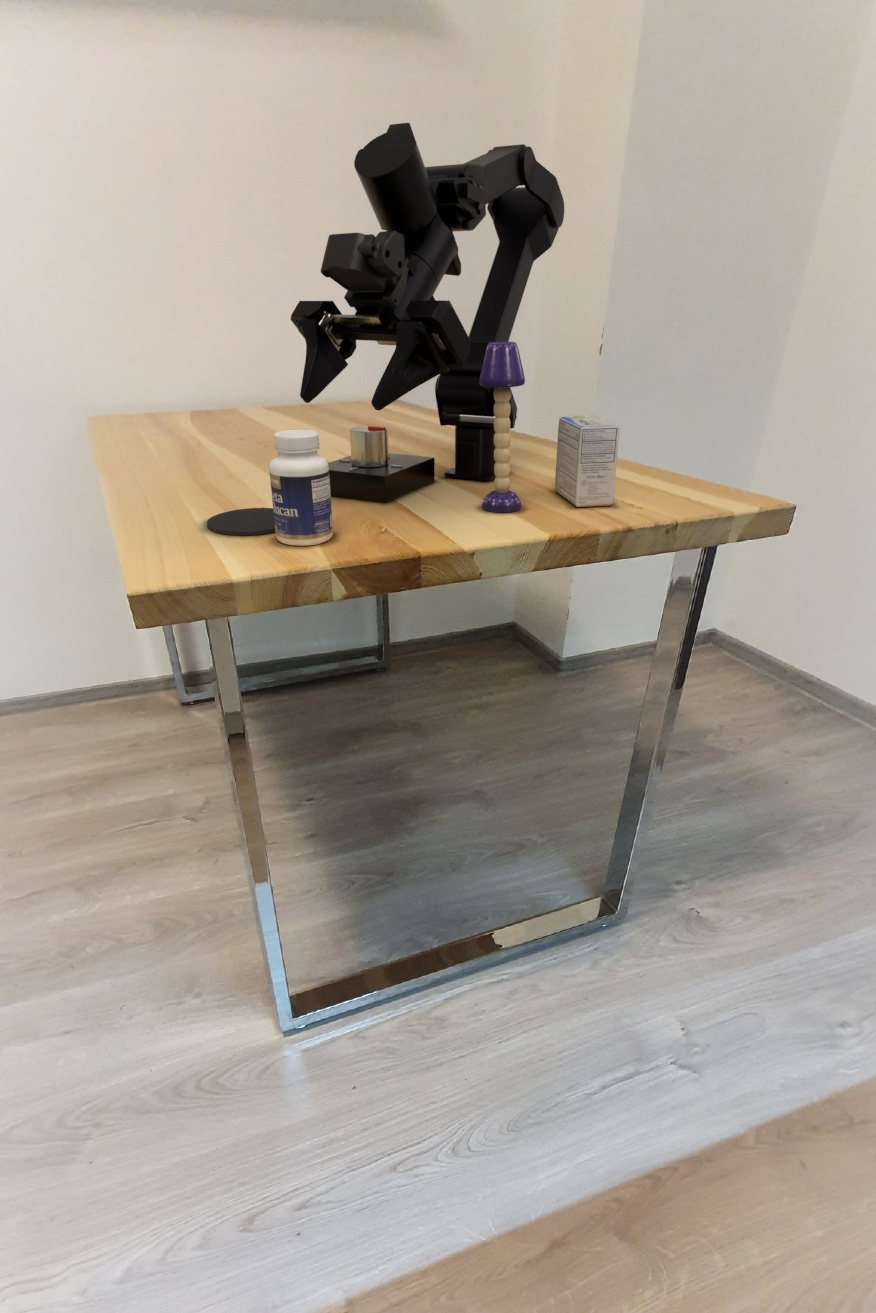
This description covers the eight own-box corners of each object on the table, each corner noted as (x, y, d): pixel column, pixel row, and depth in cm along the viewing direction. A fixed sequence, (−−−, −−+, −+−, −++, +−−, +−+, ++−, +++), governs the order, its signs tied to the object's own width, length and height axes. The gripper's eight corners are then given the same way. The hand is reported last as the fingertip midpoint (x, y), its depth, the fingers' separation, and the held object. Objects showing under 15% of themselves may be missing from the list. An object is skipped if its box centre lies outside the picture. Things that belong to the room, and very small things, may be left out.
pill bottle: (264, 542, 68) (252, 435, 64) (299, 527, 73) (290, 426, 68) (310, 550, 66) (301, 440, 62) (344, 535, 70) (338, 430, 66)
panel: (367, 474, 95) (365, 449, 94) (434, 481, 91) (434, 456, 89) (312, 493, 85) (310, 466, 84) (385, 503, 81) (384, 474, 80)
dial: (344, 465, 85) (342, 427, 83) (364, 458, 89) (362, 422, 87) (376, 468, 83) (375, 430, 81) (395, 462, 87) (394, 424, 85)
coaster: (247, 507, 80) (247, 504, 79) (315, 517, 76) (314, 514, 76) (187, 528, 72) (187, 524, 72) (258, 540, 69) (258, 536, 69)
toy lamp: (488, 515, 77) (493, 343, 69) (469, 505, 81) (472, 341, 73) (528, 510, 78) (537, 342, 71) (507, 500, 82) (514, 340, 75)
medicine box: (613, 506, 80) (622, 424, 76) (574, 508, 79) (581, 426, 75) (589, 490, 87) (596, 414, 83) (553, 491, 86) (558, 415, 82)
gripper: (296, 207, 70) (217, 336, 67) (453, 191, 59) (368, 342, 56) (356, 299, 79) (289, 416, 76) (502, 298, 69) (431, 434, 65)
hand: (338, 403), depth 68 cm, fingers open, 9 cm apart
